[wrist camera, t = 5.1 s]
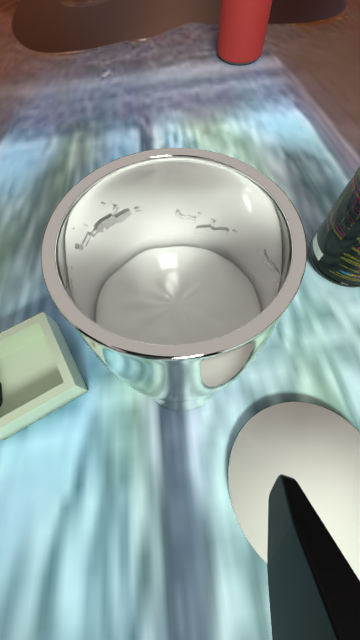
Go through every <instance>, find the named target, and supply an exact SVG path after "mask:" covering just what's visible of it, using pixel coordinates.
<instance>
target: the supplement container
mask: <svg viewBox="0 0 360 640" xmlns="http://www.w3.org/2000/svg"><path fill="white" fill-rule="evenodd" d="M309 256H310V260H311V262H312V265H313V266H314V268H315V269H316V270H317V272H318V273H319V274H320V275H321V276H323V277H324V278H325V279H327V280H328V281H330V282H332V283H335V284H337V285H340V286H345V287H360V165H359V167H358V168H357V170H356V171H355V173H354V174H353V176H352V178H351V179H350V181H349V182H348V184H347V185H346V187H345V188H344V190H343V192H342V193H341V195H340V196H339V198H338V199H337V201H336V202H335V204H334V206H333V207H332V209H331V210H330V212H329V213H328V215H327V216H326V218H325V220H324V221H323V223H322V224H321V226H320V227H319V229H318V230H317V232H316V233H315V235H314V237H313V238H312V240H311V242H310V246H309Z"/></svg>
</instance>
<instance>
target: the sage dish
mask: <svg viewBox="0 0 360 640" xmlns="http://www.w3.org/2000/svg"><path fill="white" fill-rule="evenodd" d="M0 382H1V384H2V394H3V403H2V405H1V407H0V440H5V439H6V438H8V437H10V436H12V435H13V434H15V433H17V432H19V431H20V430H22V429H24V428H25V427H27V426H29V425H31V424H32V423H34V422H36V421H38V420H39V419H41V418H43V417H44V416H46V415H48V414H50V413H51V412H53V411H55V410H57V409H58V408H60V407H62V406H64V405H65V404H67V403H69V402H70V401H72V400H74V399H76V398H77V397H79V396H81V395H83V394H84V393H86V392H88V389H87V387H86V385H85V382H84V380H83V378H82V376H81V374H80V371H79V369H78V367H77V365H76V362H75V360H74V358H73V356H72V354H71V351H70V349H69V347H68V345H67V342H66V340H65V338H64V336H63V334H62V331H61V329H60V327H59V325H58V324H57V323H56V322H55V321H54V320H53V319H52V318H50V317H49V316H48V315H47V314H46V313H45V312H44V311H43V312H41V313H39V314H37V315H35V316H33V317H31V318H29V319H27V320H25V321H23V322H21V323H19V324H17V325H15V326H13V327H11V328H9V329H7V330H5V331H3V332H1V333H0Z"/></svg>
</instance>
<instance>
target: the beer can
mask: <svg viewBox="0 0 360 640" xmlns="http://www.w3.org/2000/svg"><path fill="white" fill-rule="evenodd" d="M271 4H272V0H221V10H220V22H219V34H218V47H217V51H218V55H219V57H220V58H221V59H222V60H223V61H225V62H227V63H229V64H233V65H246V64H250V63H252V62H254V61H256V60H257V59H258V58H259V57H260V56H261V54H262V49H263V44H264V39H265V34H266V29H267V24H268V19H269V14H270V8H271Z"/></svg>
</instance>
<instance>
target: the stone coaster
mask: <svg viewBox="0 0 360 640" xmlns="http://www.w3.org/2000/svg"><path fill="white" fill-rule="evenodd" d="M280 474H283V475H286V476H289V477H292V478H294V479H295V480H296V481H297V482H298V484H299V485H300V487H301V489H302V490H303V492H304V493H305V495H306V496H307V498H308V500H309V501H310V503H311V504H312V506H313V508H314V509H315V511H316V512H317V514H318V515H319V517H320V519H321V520H322V522H323V523H324V525H325V527H326V528H327V530H328V531H329V533H330V534H331V536H332V538H333V539H334V541H335V542H336V544H337V546H338V547H339V549H340V550H341V552H342V553H343V555H344V557H345V558H346V560H347V561H348V563H349V565H350V566H351V568H352V569H353V571H354V572H355V574H356V576H357V577H358V579H359V580H360V432H359V431H358V430H357V429H356V428H355V427H354V426H352V425H351V424H350V423H349V422H348V421H346V420H345V419H344V418H342V417H341V416H339V415H338V414H336V413H334V412H332V411H331V410H328V409H326V408H324V407H321V406H318V405H315V404H311V403H305V402H284V403H280V404H276V405H273V406H270V407H268V408H265V409H263V410H262V411H260V412H258V413H257V414H255V415H254V416H253V417H252V418H250V419H249V420H248V421H247V423H246V424H245V425H244V426H243V427H242V429H241V430H240V432H239V433H238V435H237V437H236V439H235V441H234V444H233V447H232V449H231V453H230V458H229V463H228V489H229V496H230V500H231V504H232V508H233V511H234V513H235V516H236V519H237V521H238V523H239V525H240V527H241V529H242V531H243V533H244V535H245V536H246V538H247V539H248V541H249V542H250V544H251V545H252V547H253V548H254V549H255V551H256V552H257V553H258V554H259V556H260V557H261V558H262V559H263V560H264V561H265V562H266V563H267V548H268V500H269V494H270V491H271V489H272V487H273V485H274V483H275V481H276V479H277V477H278V476H279V475H280Z"/></svg>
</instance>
